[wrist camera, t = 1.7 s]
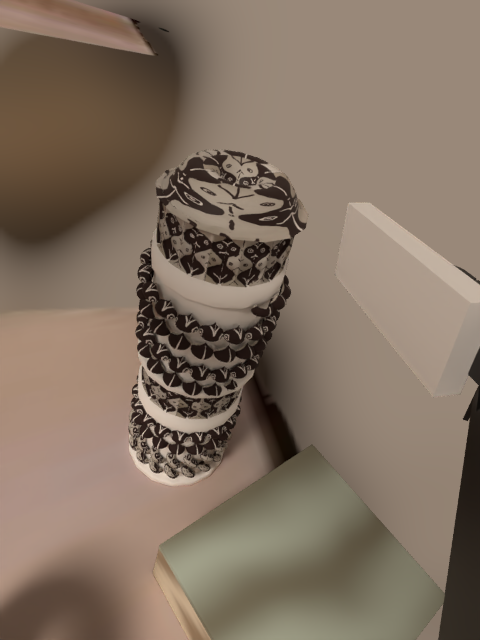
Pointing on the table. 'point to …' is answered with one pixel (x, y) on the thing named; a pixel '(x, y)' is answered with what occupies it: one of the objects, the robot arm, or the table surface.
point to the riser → (295, 565)
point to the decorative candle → (207, 306)
